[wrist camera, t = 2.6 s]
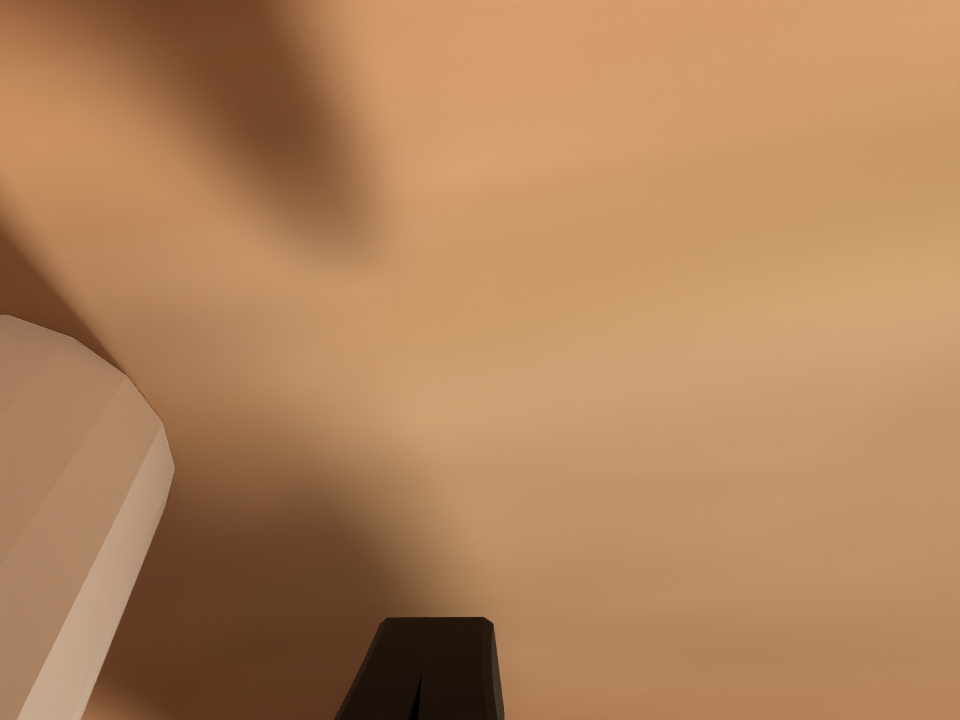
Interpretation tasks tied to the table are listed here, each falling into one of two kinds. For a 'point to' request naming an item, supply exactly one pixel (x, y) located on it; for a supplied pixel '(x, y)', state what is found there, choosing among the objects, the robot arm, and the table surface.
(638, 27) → the table surface
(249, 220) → the table surface
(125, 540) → the beige faceted cylinder
